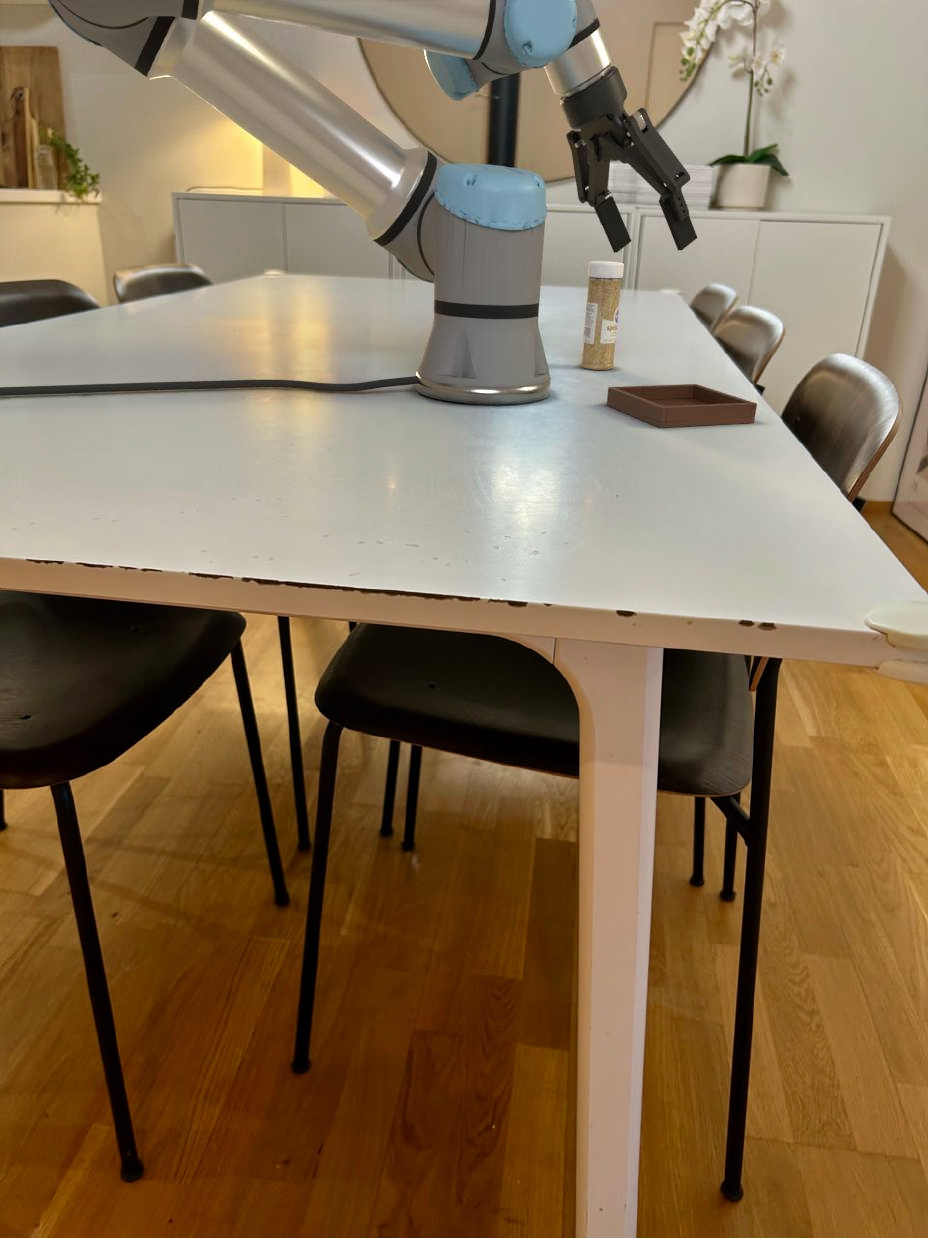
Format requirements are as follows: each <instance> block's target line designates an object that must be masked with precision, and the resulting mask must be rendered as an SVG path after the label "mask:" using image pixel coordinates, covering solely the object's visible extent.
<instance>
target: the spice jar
mask: <svg viewBox="0 0 928 1238" xmlns="http://www.w3.org/2000/svg"><path fill="white" fill-rule="evenodd" d="M624 271H625V264H624V263H623V262H620V261H612V260H611V261H610V260H594V261H593V260H592V261H590V262H588V269H587V277H588V279H587V280H588V286H587V297H586V303H585V315H584V326H583V340H582V343H583V347H582V356H581V357H582V358H581V359H582V360H581V362H580V366H581V367H582V368H583V369H587V370H591V371H592V370H593V371H604V370H605V371H608V370H611V369H614V368H615V362H614V359H615V349H616V342H617V332H618V323H619V311H620V299H621V298H620V297H621V287H622V286H621V285H622V284H621V283H622V281H623V280H622V279H623V278H624Z"/></svg>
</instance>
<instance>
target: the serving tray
mask: <svg viewBox="0 0 928 1238" xmlns="http://www.w3.org/2000/svg"><path fill="white" fill-rule="evenodd" d="M606 407H610V408H612V409H614V410H617V411H619V412H622V413H623V414H625V415H628V416H631V417H633V418H636V419H638V420H641V421H643V422H646V423H647V424H651V425H652V426H655V427H657V428H660V429H662V428H663V429H664V428H683V427H700V426H702V427H705V426H717V425H718V426H719V425H720V426H723V425H740V424H754V423H755V420H756V419H755V418H756V412H757V407H758V403H757V402H754V401H751V400H748V399H744V398H741V397H738V396H734V395H731V394H729V393H726V392H723V391H720V390H716V389H714V388H710V387H707V386H704V385H700V384H698V383H685V384H684V383H683V384H657V385H653V384H652V385H629V386H628V385H627V386H608V387H607V396H606Z"/></svg>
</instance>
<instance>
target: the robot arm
mask: <svg viewBox="0 0 928 1238" xmlns="http://www.w3.org/2000/svg"><path fill="white" fill-rule="evenodd" d="M46 1H47V2H48V4H49V6H50V8H52V10H53V11H54V14H56V16H57V18H58V19H59V20H60V21H61V22H62V23H63V24H64V25H65V26H66V27H67V28H68V29H69V30H70V31H72V32H73V33H74V34H75V35H77V36H78V37H79V38H80V39H82V40H84V41H86V42H88V43H92V44H93V45H94V46H95V47H96V46H97V47H100V48H104V49H106V50H107V51H109V52H110V53H112V55H114V56H116V57H117V58H118V59H120V60H121V61H123V62H124V63H126V64H127V65H128V66H130V67H131V68H133V69H134V70H135V71H137V72H139V73H140V74H141V75H142V76H144V77H145V78H147V79H148V80H154V79H158V78H164V77H168V78H172V79H174V80H175V81H176V82H178V83H180V85H182V86H183V87H184V88H186V89H188V90H189V91H190V92H192V93H193V94H195V95H196V96H197V97H199V98H200V99H201V100H203V101H204V102H205V103H207V104H208V105H210V107H212V108H214V109H215V110H216V111H218V112H219V113H220V114H222V115H223V116H224V117H226V118H227V119H229V120H230V121H232V122H233V123H234V124H236V125H237V126H238V127H239V128H241V129H242V130H244V131H245V132H246V133H248V134H249V135H250V136H252V137H254V139H256V140H257V141H258V142H260V143H262V144H263V145H264V146H266V147H267V148H269V149H270V150H271V151H272V152H273V153H275V154H276V155H278V156H279V157H281V158H282V159H283V160H285V161H286V162H287V163H289V164H290V165H292V167H294V168H296V169H297V170H298V171H300V172H301V173H302V174H304V175H305V176H307V177H308V178H309V179H310V180H312V181H313V182H315V183H316V184H317V185H319V186H320V187H322V188H323V189H324V190H326V191H327V192H328V193H330V194H331V195H332V196H334V197H335V198H337V200H340V201H341V203H344V204H345V205H346V206H347V207H349V208H350V209H352V210H353V211H354V212H356V213H357V214H359V215H360V216H361V217H362V218H363V220H364V225H365V230H366V234H367V238H369V239H370V240H372V241H373V242H374V243H375V244H377V245H378V246H379V247H381V248H383V249H384V250H385V251H387V252H388V253H389V254H391V255H392V256H393V257H394V258H395V259H396V260H397V263H398V264H400V265H401V266H402V268H403V269H404V270H405V271H406V272H407V273H408V274H410V275H412V276H413V277H415V278H416V279H419V280H420V281H423V282H426V283H430V284H433V319H432V324H431V326H430V331H429V334H428V337H427V340H426V342H425V346H424V348H423V352H422V355H421V358H420V361H419V364H418V367H417V371H416V375H413V376H402V377H393V378H385V379H377V380H371V381H363V382H356V383H329V382H317V381H306V380H294V379H229V380H228V379H225V380H223V379H222V380H221V379H220V380H188V381H186V380H185V381H183V380H182V381H157V382H156V381H150V382H148V381H147V382H119V383H91V384H89V383H88V384H61V385H59V384H58V385H57V384H56V385H29V386H27V385H26V386H25V385H24V386H0V397H8V396H11V397H13V396H39V395H67V394H68V395H69V394H94V393H97V394H98V393H122V392H123V393H124V392H151V391H155V392H156V391H183V390H185V391H186V390H216V389H217V390H221V389H247V388H248V389H249V388H251V389H252V388H273V389H274V388H275V389H278V388H280V389H281V388H283V389H296V390H297V389H299V390H307V391H319V392H335V393H336V392H337V393H339V392H340V393H346V392H347V393H348V392H350V393H351V392H361V391H369V390H375V389H383V388H393V387H400V386H409V385H411V386H412V385H415V386H416V388H415V389H416V391H417V392H418V394H421V395H423V396H426V397H428V398H432V399H435V400H436V399H437V400H442V401H448V402H455V403H463V404H476V405H477V404H478V405H513V404H525V403H526V404H527V403H533V402H537V401H541V400H544V399H546V398H548V397H549V396H550V393H551V380H552V379H551V373H550V369H549V365H548V361H547V356H546V352H545V349H544V343H543V340H542V336H541V332H540V327H539V314H540V301H541V299H540V298H541V285H542V271H543V256H544V244H545V243H544V242H545V229H546V228H545V227H546V219H547V216H548V207H547V189H546V187H547V186H546V183H545V180H544V178H542V176H541V175H540V174H539V173H537V172H535V171H531V170H528V169H523V168H518V167H509V166H504V165H496V164H486V163H468V162H467V163H466V162H465V163H464V162H463V163H462V162H461V163H460V162H459V163H458V162H456V163H455V162H453V163H448V164H446V163H445V162H443V161H442V160H441V159H439V158H438V157H436V155H434V154H433V153H432V152H431V151H429V150H428V149H427V148H426V147H425V146H419V147H413V148H409V149H406V148H403V147H402V146H400V145H399V144H398V143H397V142H396V141H394V140H393V139H391V138H390V137H389V136H388V135H386V133H384V132H383V131H381V130H380V129H379V127H376V126H375V125H374V124H373V123H372V122H371V121H369V120H368V119H367V118H365V117H364V116H363V115H361V114H360V113H359V112H358V111H356V110H355V109H354V108H352V107H351V106H350V105H349V104H348V103H347V102H345V101H344V100H343V99H341V98H340V97H339V96H338V95H337V94H335V93H334V92H332V90H330V89H329V88H328V87H326V85H324V84H323V83H321V82H320V81H319V80H318V79H317V78H316V77H314V76H313V75H311V73H309V72H308V71H307V70H305V69H304V68H303V67H301V66H300V65H299V64H298V63H297V62H295V61H294V60H292V59H291V58H290V57H289V56H287V54H285V53H284V52H283V51H281V50H280V49H279V48H278V47H277V46H275V45H274V44H272V43H271V42H270V41H269V40H267V39H266V38H265V37H264V36H263V35H261V34H260V33H259V32H258V31H256V30H255V29H254V28H252V27H251V26H250V25H249V24H247V23H246V22H245V21H244V20H242V19H241V18H240V17H238V16H242V17H246V18H252V19H257V20H262V21H267V22H272V23H278V24H283V25H289V26H293V27H299V28H304V29H309V30H315V31H320V32H325V33H326V32H327V33H331V34H336V35H340V36H341V35H342V36H345V37H346V36H347V37H352V38H356V39H362V40H369V41H373V42H379V43H382V44H383V43H384V44H389V45H394V46H399V47H404V48H410V49H415V50H420V51H423V52H424V56H425V61H426V64H427V66H428V68H429V71H430V74H431V75H432V77H433V79H434V81H435V83H436V85H437V86H438V87H439V88H440V90H441V91H442V92H443V94H445V95H446V96H447V97H448V98H449V99H450V100H453V101H456V102H460V101H463V100H464V99H466V98H468V97H470V96H471V95H473V94H474V93H479V92H480V90H481V89H482V88H483V87H484V86H486V85H487V84H489V83H491V82H492V81H495V80H497V79H501V78H504V77H507V76H511V75H514V74H517V73H521V72H525V71H529V70H537V69H541V68H543V69H544V71H545V73H546V76H547V78H548V81H549V83H550V85H551V88H552V90H553V93H554V94H555V95H558V96H560V95H561V97H560V98H559V105H560V107H561V110H562V112H563V115H564V118H565V119H566V122H567V124H568V126H569V128H570V129H571V130H570V131H568V132H567V133H566V135H565V138H566V140H567V143H568V146H569V148H570V151H571V152H570V153H571V157H572V165H573V172H574V177H575V187H576V192H577V198H578V201H579V202H580V203H581V204H585V203H588V205H589V206H590V207H591V208H593V209H594V211H595V215H596V216H597V218H598V220H599V223H600V225H601V226H602V229H603V231H604V233H605V236H606V238H607V240H608V242H609V244H610V246H611V250H612V252H613V253H615V254H616V253H618V252H620V251H622V249H624V248H625V247H626V246H627V245H629V244H630V243H631V242H632V239H631V237H630V234H629V231H628V228H627V227H626V225H625V222H624V219H623V217H622V215H621V213H620V210H619V207H618V205H617V203H616V200H615V198H614V196H613V195H611V196H609V195H610V194H612V191H610V190H609V181H610V180H609V179H610V169H611V168H610V167H611V161H614V162H615V161H616V162H617V161H619V162H621V163H622V164H627V165H629V166H630V167H631V168H632V169H633V170H634V171H635V172H636V173H637V174H638V175H639V176H640V177H641V178H642V179H643V180H644V181H645V182H646V183H647V184H648V185H649V186H651V188H653V190H654V191H655V192H656V193H658V195H660V197H659V199H658V204H659V207H660V208H661V211H662V213H663V214H662V215H663V216H664V218H665V221H666V223H667V226H668V228H669V231H670V234H671V237H672V239H673V242H674V244H675V246H676V250H677V251H683V250H684V249H686V248H687V247H688V246H689V245H691V244H692V243H693V242H694V241H696V239H698V234H697V232H696V229H695V227H694V225H693V222H692V219H691V217H690V210H689V207H688V205H687V202H686V199H685V196H684V194H683V191H682V188H683V187H684V186H685V185H686V184H687V183H688V182H690V181H691V175H690V173H689V171H688V170H687V169H686V168H685V166H684V164H682V162H681V161H680V160H679V158H678V157H677V155H676V154H675V153H674V152H673V150H672V149H671V148H670V146H669V145H668V143H667V142H666V141H665V140H664V138H663V137H662V135H661V134H660V133H659V131H658V130H657V128H656V127H655V126H654V125H653V123H652V121H651V118H650V116H649V114H648V112H647V110H646V109H645V108H644V107H639V108H638V109H637V110H636V111H634V112H633V113H632V114H630V115H629V114H628V112H627V110H626V109H625V107H624V104H625V101H626V100H627V98H628V91H627V88H626V86H625V82H624V80H623V78H622V75H621V72H620V70H619V68H618V67H617V66H615V65H612V63H613V61H614V56H613V53H612V50H611V48H610V46H609V43H608V41H607V39H606V36H605V33H604V31H603V28H602V26H601V23H600V20H599V17H598V15H597V12H596V9H595V7H594V4H593V1H592V0H46ZM587 187H588V188H587Z"/></svg>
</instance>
